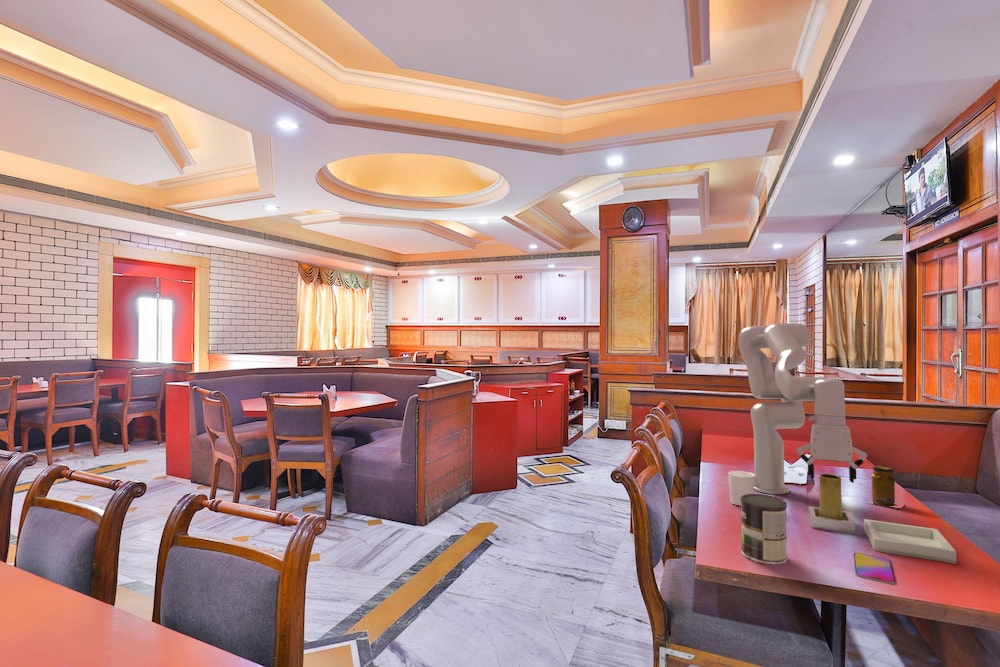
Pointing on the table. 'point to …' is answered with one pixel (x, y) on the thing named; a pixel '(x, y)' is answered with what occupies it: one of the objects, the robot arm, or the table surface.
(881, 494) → the condiment
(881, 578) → the smartphone
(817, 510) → the white square dish
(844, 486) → the table surface
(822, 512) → the vase
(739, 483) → the white cup
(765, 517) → the coffee can
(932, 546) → the beige tray
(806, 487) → the table surface
